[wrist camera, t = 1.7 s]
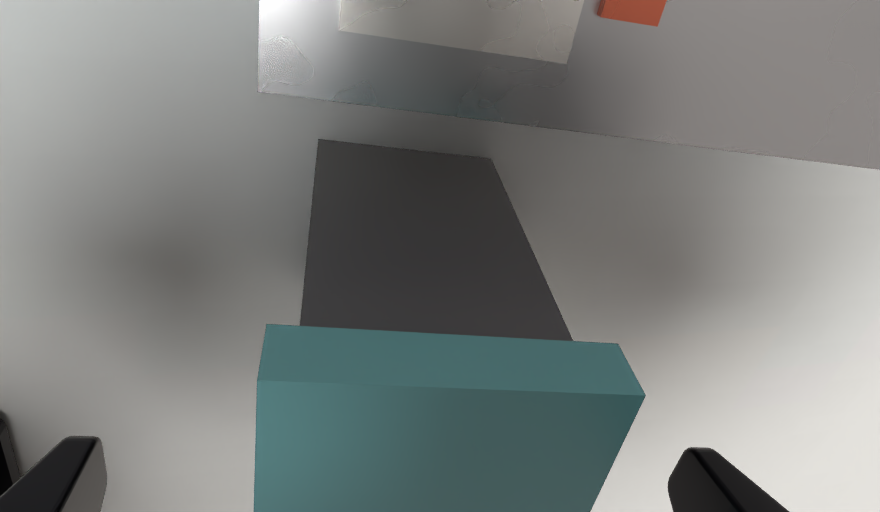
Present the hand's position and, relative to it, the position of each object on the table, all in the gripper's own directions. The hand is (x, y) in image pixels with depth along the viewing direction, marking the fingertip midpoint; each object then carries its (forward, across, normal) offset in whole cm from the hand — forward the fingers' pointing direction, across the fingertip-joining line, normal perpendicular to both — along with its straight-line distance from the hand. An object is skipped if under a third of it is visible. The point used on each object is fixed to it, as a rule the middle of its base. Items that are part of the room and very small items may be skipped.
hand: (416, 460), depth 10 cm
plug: (+7, 0, 0) cm, 7 cm away
